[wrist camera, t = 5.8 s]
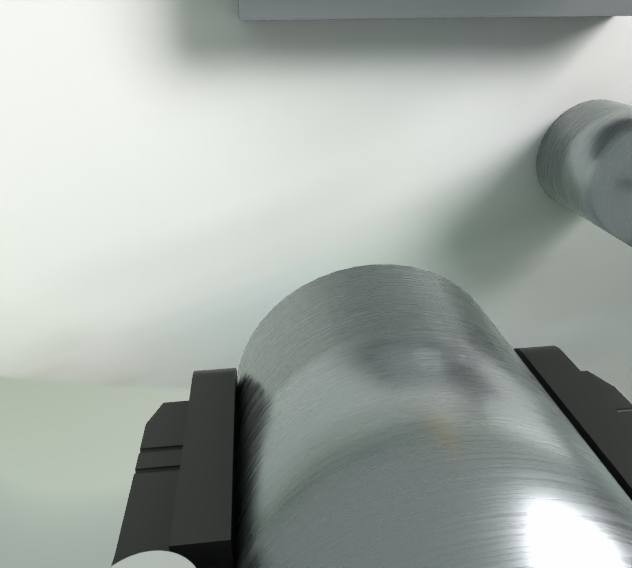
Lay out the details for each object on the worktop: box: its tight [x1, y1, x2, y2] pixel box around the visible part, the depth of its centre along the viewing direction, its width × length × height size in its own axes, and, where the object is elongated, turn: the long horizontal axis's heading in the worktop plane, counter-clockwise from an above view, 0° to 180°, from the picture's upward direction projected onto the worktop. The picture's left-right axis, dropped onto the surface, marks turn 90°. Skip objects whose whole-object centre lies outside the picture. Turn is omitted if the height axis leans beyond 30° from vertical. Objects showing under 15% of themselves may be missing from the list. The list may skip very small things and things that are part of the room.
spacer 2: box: [537, 100, 632, 247], centre depth 24 cm, size 5×5×6 cm
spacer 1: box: [235, 265, 632, 568], centre depth 8 cm, size 5×5×6 cm
